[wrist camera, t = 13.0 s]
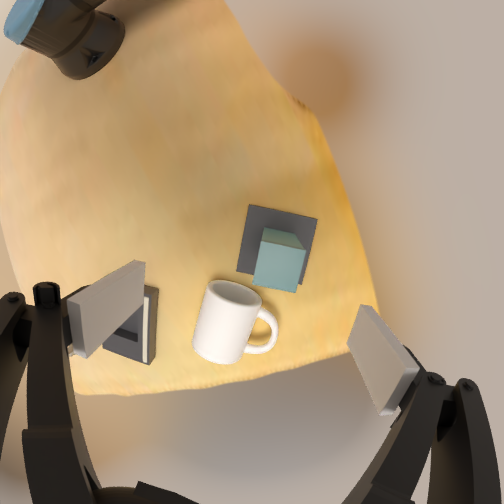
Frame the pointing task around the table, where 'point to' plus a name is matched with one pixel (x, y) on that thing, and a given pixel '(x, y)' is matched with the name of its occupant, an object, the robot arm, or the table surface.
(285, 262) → the plug
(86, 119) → the table surface
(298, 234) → the mat
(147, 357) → the grey socket block
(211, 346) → the mug
